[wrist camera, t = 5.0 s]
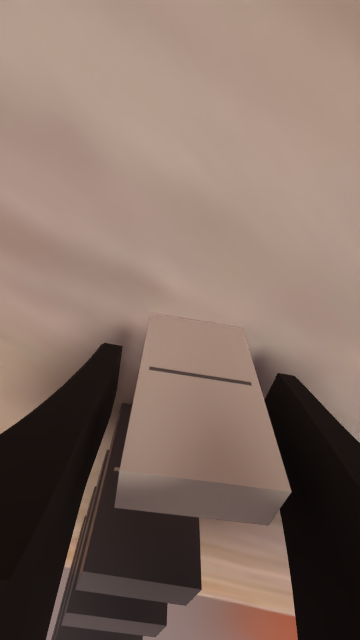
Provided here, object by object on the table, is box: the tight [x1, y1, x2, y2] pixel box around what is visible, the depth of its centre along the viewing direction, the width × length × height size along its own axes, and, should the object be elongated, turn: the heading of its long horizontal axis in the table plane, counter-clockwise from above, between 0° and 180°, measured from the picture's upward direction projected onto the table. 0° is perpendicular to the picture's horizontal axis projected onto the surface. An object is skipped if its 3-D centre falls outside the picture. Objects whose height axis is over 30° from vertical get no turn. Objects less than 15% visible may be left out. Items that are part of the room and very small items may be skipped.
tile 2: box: [61, 450, 167, 637], centre depth 15 cm, size 4×2×7 cm, turn 72°
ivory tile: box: [114, 313, 291, 525], centre depth 10 cm, size 4×2×7 cm, turn 79°
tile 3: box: [54, 487, 143, 640], centre depth 17 cm, size 4×2×7 cm, turn 71°
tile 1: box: [75, 404, 202, 606], centre depth 13 cm, size 4×2×7 cm, turn 71°
